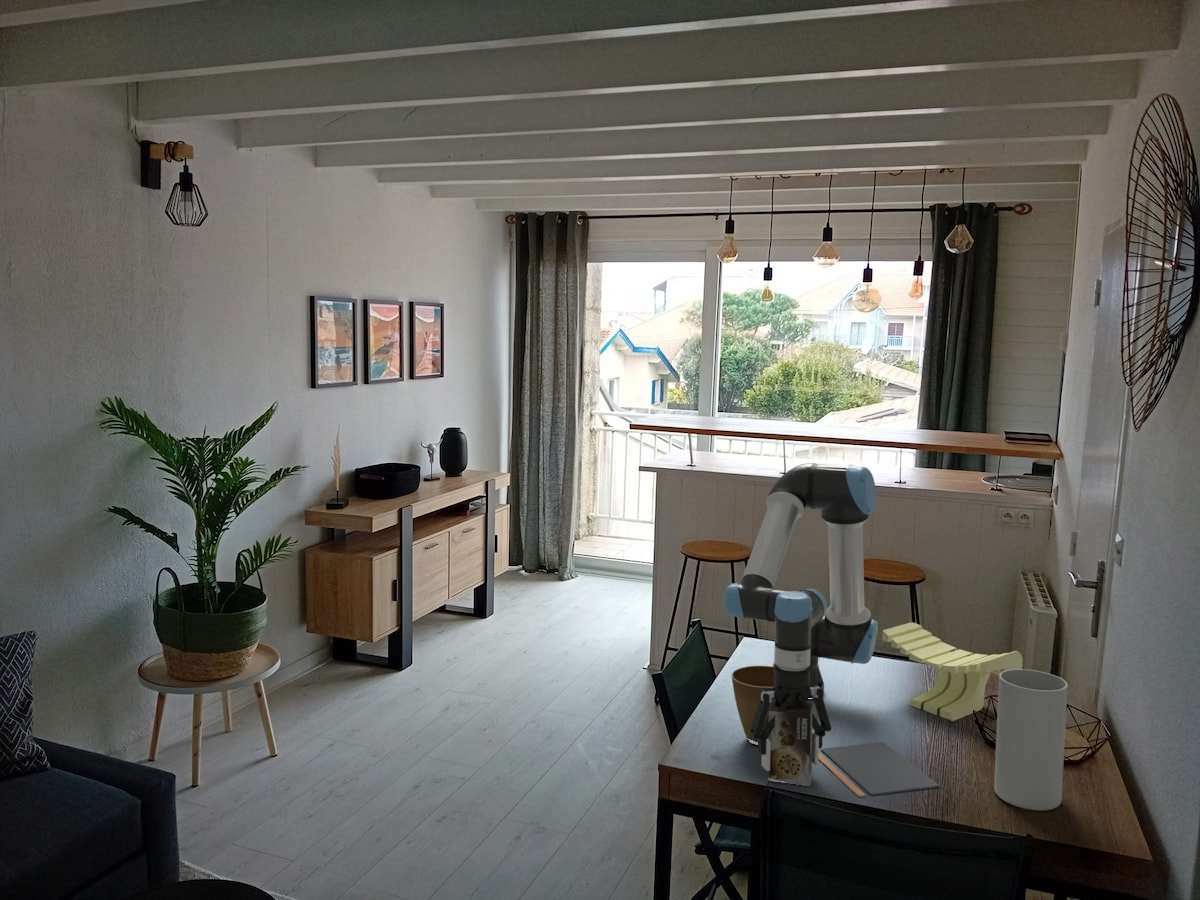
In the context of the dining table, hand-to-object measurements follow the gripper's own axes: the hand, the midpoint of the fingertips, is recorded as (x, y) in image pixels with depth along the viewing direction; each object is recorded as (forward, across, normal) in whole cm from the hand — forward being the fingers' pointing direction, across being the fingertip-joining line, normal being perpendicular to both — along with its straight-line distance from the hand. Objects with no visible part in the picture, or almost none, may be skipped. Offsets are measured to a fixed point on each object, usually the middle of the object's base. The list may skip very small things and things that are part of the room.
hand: (789, 765), depth 191 cm
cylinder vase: (+3, +44, -19) cm, 48 cm away
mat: (+3, +21, 0) cm, 21 cm away
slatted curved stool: (+3, +58, +28) cm, 64 cm away
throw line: (+3, +11, 0) cm, 11 cm away
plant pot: (+3, +2, +19) cm, 19 cm away
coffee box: (+3, 0, 0) cm, 3 cm away
